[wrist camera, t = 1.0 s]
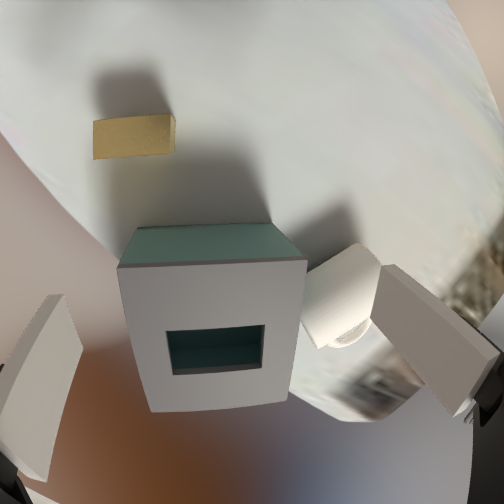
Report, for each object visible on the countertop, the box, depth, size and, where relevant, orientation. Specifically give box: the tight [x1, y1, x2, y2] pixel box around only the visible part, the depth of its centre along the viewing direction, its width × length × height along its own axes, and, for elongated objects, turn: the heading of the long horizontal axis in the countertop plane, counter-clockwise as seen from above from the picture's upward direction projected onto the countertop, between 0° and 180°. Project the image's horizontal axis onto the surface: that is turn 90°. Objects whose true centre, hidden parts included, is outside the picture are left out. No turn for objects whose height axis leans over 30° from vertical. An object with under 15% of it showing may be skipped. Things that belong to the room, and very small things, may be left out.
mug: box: [300, 243, 382, 349], centre depth 32 cm, size 12×10×8 cm
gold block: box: [93, 114, 176, 160], centre depth 22 cm, size 6×3×7 cm, turn 88°
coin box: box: [117, 223, 308, 412], centre depth 28 cm, size 16×14×10 cm
